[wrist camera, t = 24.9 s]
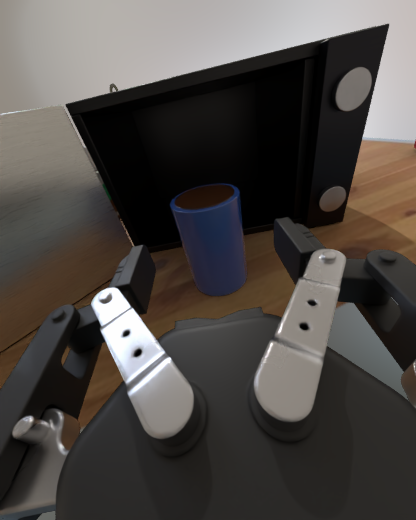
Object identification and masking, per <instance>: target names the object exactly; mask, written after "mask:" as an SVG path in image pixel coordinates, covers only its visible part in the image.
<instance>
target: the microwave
mask: <svg viewBox="0 0 416 520" xmlns="http://www.w3.org/2000/svg"><path fill="white" fill-rule="evenodd" d="M388 28H389V24H385V25H381V26H377V27H376V26H375V27H371V28H367V29H363V30H359V31H355V32H351V33H347V34H343V35H339V36H335V37H331V38H327V39H323V40H319V41H315V42H311V43H307V44H303V45H299V46H295V47H291V48H287V49H283V50H279V51H275V52H271V53H267V54H263V55H259V56H255V57H251V58H247V59H243V60H240V61H235V62H231V63H227V64H223V65H220V66H215V67H212V68H207V69H203V70H199V71H195V72H191V73H188V74H183V75H180V76H176V77H172V78H168V79H164V80H160V81H156V82H152V83H148V84H144V85H140V86H136V87H132V88H128V89H124V90H120V91H116V92H112V93H108V94H104V95H100V96H96V97H92V98H88V99H84V100H80V101H76V102H72V103H68V104H66V107H67V108H68V111H69V113H70V115H71V117H72V119H73V121H74V123H75V125H76V127H77V129H78V132H79V134H80V136H81V138H82V139H83V142H84V144H85V146H86V148H87V150H88V152H89V154H90V156H91V158H92V160H93V162H94V164H95V166H96V168H97V170H98V172H99V174H100V176H101V178H102V180H103V182H104V185H105V187H106V189H107V191H108V193H109V195H110V197H111V199H112V201H113V203H114V205H115V207H116V209H117V211H118V213H119V215H120V217H121V219H122V221H123V223H124V225H125V227H126V229H127V231H128V233H129V236H130V238H131V240H132V242H133V244H134V246H140V245H146V247H147V249H148V251H149V253H152V252H157V251H162V250H167V249H173V248H178V247H183V245H182V242H181V239H180V236H179V233H178V230H177V227H176V223H175V220H174V217H173V214H172V211H171V208H170V203H171V201H172V200H173V199H174V198H175V197H176V196H177V195H179V194H181V193H183V192H185V191H187V190H190V189H192V188H196V187H199V186H204V185H210V184H229V185H233V186H236V187H237V188H238V189H239V191H240V201H241V212H242V222H243V233H244V235H247V234H252V233H257V232H262V231H268V230H273V229H274V221H275V219H280V218H285V217H289V218H290V219H291V221H292V222H293V223H294V224H297V223H299V224H303V225H304V226H305V227H306V228H310V227H315V226H320V225H325V224H331V223H336V222H341V221H343V217H344V213H345V209H346V205H347V200H348V196H349V192H350V188H351V184H352V179H353V175H354V171H355V167H356V163H357V158H358V154H359V150H360V146H361V141H362V137H363V133H364V129H365V124H366V120H367V116H368V112H369V108H370V104H371V99H372V95H373V91H374V86H375V82H376V78H377V74H378V70H379V66H380V61H381V57H382V53H383V49H384V44H385V40H386V36H387V32H388Z"/></svg>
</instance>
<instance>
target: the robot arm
mask: <svg viewBox="0 0 416 520" xmlns="http://www.w3.org/2000/svg"><path fill="white" fill-rule="evenodd" d="M274 247H275V250H276V252H277V254H278V256H279V257H280V259H281V261H282V263H283V264H284V266H285V268H286V270H287V271H288V273H289V275H290V277H291V278H292V280H293V282H294V284H295V285H296V287H295V289H294V291H293V294H292V296H291V298H290V301H289V303H288V305H287V307H286V310H285V312H284V314H283V317H282V318H281V317H279V316H276V315H272V314H264V313H263V311H262V308H261V307H258V308H252V309H246V310H240V311H237V312H235V313H232V314H230V315H227V316H225V317H222V318H220V319H208V318H192V319H186V320H180V321H175V328H174V329H172V330H170V331H168V332H167V333H165V334H164V335H162V336H161V337H160V338H159V339H158V340H156V339H155V337H154V336H153V335H152V333H151V332H150V331H149V329H148V328H147V326H146V325H145V324H144V322H143V321H142V320H141V318H140V317H139V315H140V314H146V313H147V309H148V304H149V300H150V296H151V291H152V287H153V282H154V278H155V273H156V269H155V264H154V262H153V260H152V258H151V255H150V253H149V251H148V249H147V247H146V245H140V246H134V247H132V248H131V251H130V253H129V255H128V256H126V257H125V258H124V259H123V260H122V261H121V262H120V264H119V266H118V269H117V270H116V273H115V274H114V277H113V279H112V281H111V283H110V285H109V287H108V288H107V289H104V290H102V291H101V292H99V293H98V294H97V295H96V296H95V297H94V298H93V300H92V302H91V304H90V305H88V306H85V307H83V308H81V309H78V310H77V309H76V308H75V307H74V306H73V305H64V306H61V307H59V308H57V309H55V310H54V311H53V312H51V313H50V314H49V315H48V316H47V317H46V319H45V320H44V322H43V323H42V325H41V327H40V328H39V330H38V331H37V333H36V335H35V336H34V338H33V339H32V341H31V342H30V344H29V346H28V347H27V349H26V350H25V352H24V353H23V355H22V357H21V358H20V360H19V361H18V363H17V364H16V366H15V368H14V369H13V371H12V372H11V374H10V375H9V377H8V379H7V380H6V382H5V383H4V385H3V386H2V388H1V390H0V520H37V519H38V517H39V516H40V515H41V514H42V513H46V512H50V511H55V510H56V520H416V265H415V264H414V263H412V262H411V261H410V260H408V259H407V258H406V257H404V256H403V255H401V254H399V253H397V252H394V251H390V250H373V251H371V252H369V253H368V254H367V257H366V259H348V258H346V257H345V256H344V255H343V254H342V253H341V252H339V251H336V250H333V249H326V248H325V247H324V246H323V245H322V243H321V242H320V241H319V240H318V239H317V238H316V237H314V235H313V234H312V233H310V231H309V230H308V229H307V228H306V227H305V226H303V225H301V224H299V223H297V224H294V223H293V222H292V221H291V219H290V218H289V217H285V218H280V219H275V221H274ZM391 297H392V298H393V299H394V300H395V301H396V302H397V303H398V305H399V306H398V305H397V304H396V302H395V301H394V300H393V299H392V298H391ZM337 301H339V302H350V303H354V304H355V305H356V307H357V308H358V310H359V311H360V312H361V314H362V315H363V316H364V318H365V319H366V321H367V322H368V323H369V325H370V326H371V327H372V329H373V330H374V331H375V333H376V334H377V336H378V337H379V338H380V340H381V341H382V342H383V344H384V345H385V347H386V348H387V349H388V351H389V352H390V353H391V355H392V356H393V358H394V359H395V360H396V362H397V363H398V364H399V366H400V367H401V368H402V370H403V371H404V373H403V374H402V377H401V384H402V387H403V389H404V391H405V393H406V395H407V398H408V400H409V401H408V400H407V399H405V398H404V397H403V396H402V395H400V394H399V393H398V392H396V391H395V390H394V389H392V388H391V387H389V386H387V385H386V384H384V383H383V382H381V381H380V380H378V379H377V378H375V377H374V376H372V375H371V374H369V373H367V372H366V371H364V370H363V369H361V368H360V367H358V366H357V365H355V364H354V363H352V362H351V361H349V360H348V359H346V358H345V357H343V356H342V355H340V354H338V353H337V352H335V351H334V350H332V349H331V348H329V347H328V346H327V342H328V338H329V334H330V330H331V325H332V321H333V316H334V312H335V308H336V304H337ZM104 342H106V343H107V346H108V348H109V350H110V352H111V354H112V356H113V358H114V360H115V363H116V365H117V367H118V369H119V371H120V373H121V375H122V377H123V380H124V381H123V382H122V383H121V384H120V386H119V387H118V388H117V389H116V390H115V392H114V393H113V394H112V395H111V397H110V398H109V399H108V400H107V402H106V403H105V404H104V405H103V406H102V408H101V409H100V410H99V411H98V413H97V414H96V415H95V416H94V417H93V419H92V420H91V421H90V422H89V424H88V425H87V426H86V427H85V428H84V430H83V431H82V432H81V433H80V424H79V421H78V417H79V413H80V410H81V407H82V404H83V401H84V398H85V395H86V392H87V389H88V386H89V383H90V380H91V377H92V373H93V370H94V367H95V364H96V361H97V358H98V355H99V352H100V349H101V346H102V343H104ZM67 346H68V347H69V348H70V351H69V354H68V356H67V358H66V360H65V363H64V365H63V366H62V364H61V358H62V355H63V353H64V351H65V349H66V347H67ZM79 434H80V435H79Z"/></svg>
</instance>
